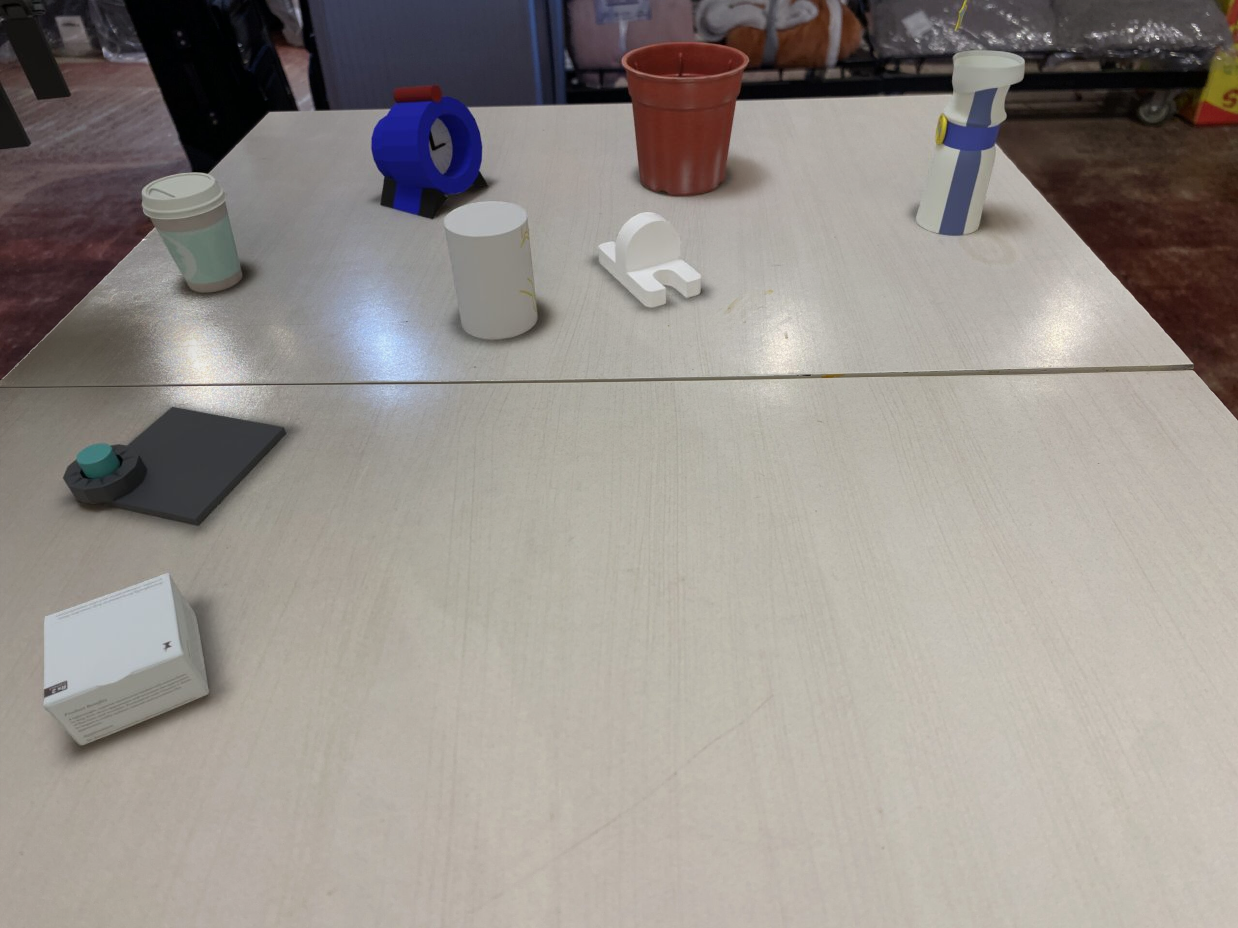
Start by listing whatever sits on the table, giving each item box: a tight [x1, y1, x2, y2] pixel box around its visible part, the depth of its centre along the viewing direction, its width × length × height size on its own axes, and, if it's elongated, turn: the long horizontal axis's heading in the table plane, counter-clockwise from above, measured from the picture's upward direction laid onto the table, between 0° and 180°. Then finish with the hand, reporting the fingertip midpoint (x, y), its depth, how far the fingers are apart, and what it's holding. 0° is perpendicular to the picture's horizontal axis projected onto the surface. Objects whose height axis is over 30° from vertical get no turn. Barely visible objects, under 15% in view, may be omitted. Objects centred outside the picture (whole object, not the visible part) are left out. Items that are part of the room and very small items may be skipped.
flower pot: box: [621, 41, 750, 197], centre depth 110 cm, size 16×16×16 cm
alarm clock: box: [370, 84, 490, 220], centre depth 108 cm, size 12×12×15 cm
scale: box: [62, 406, 287, 526], centre depth 68 cm, size 13×13×3 cm
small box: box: [42, 572, 210, 746], centre depth 52 cm, size 8×8×5 cm
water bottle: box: [915, 0, 1026, 236], centre depth 94 cm, size 8×9×25 cm
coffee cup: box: [141, 172, 243, 293], centre depth 91 cm, size 8×9×12 cm
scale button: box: [75, 442, 120, 479], centre depth 65 cm, size 3×3×2 cm
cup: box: [443, 200, 539, 340], centre depth 83 cm, size 8×8×12 cm
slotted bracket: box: [597, 211, 702, 308], centre depth 90 cm, size 13×7×8 cm, turn 27°
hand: (34, 121), depth 70 cm, fingers open, 13 cm apart
